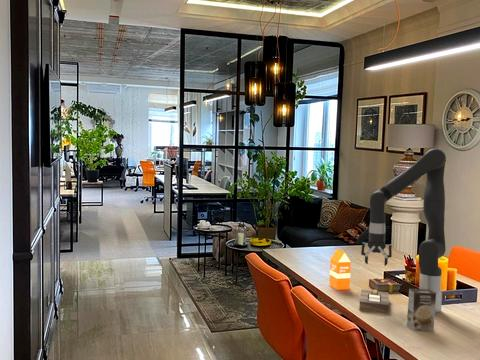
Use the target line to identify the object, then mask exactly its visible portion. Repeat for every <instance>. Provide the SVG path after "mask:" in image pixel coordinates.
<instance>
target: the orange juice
mask: <svg viewBox="0 0 480 360" xmlns="http://www.w3.org/2000/svg"><path fill="white" fill-rule="evenodd" d="M329 263H330V264H329V286H330V287H331V288H333V289H335V290H337V291H340V290H350V288H351V285H350V283H351V267H352V266H351V263H352V262H351V260H350V258H349V257H348V255H347V253H346V252H345V251H344V250H341V249H339V248H337V249H336V250H335V252H334V253H333V254H332V256H331V258H330V259H329Z"/></svg>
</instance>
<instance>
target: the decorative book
mask: <svg viewBox="0 0 480 360" xmlns="http://www.w3.org/2000/svg"><path fill="white" fill-rule="evenodd" d="M391 279H392V278H390V279H389V278H374V279H372V278H370V279H369V280H368V287H369V288H371V289H372V291H373V290H377V291H379V292H388V293H389V294H390V292H391V294H392V293H400V292H399V289H400V286H401V285H402V284H399V283H397V282H395V281H393V280H391Z"/></svg>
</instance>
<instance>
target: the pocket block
mask: <svg viewBox="0 0 480 360" xmlns="http://www.w3.org/2000/svg"><path fill="white" fill-rule="evenodd" d="M369 294H371V295H373V290H367V289H361V290H360V297H359V308H358V310H359V311H367V312H371V313H372V312H374V313H381V314H389V313H390V298H389V297H390V296H389V294H390V293H389V292H379V291H377V295H380V302H371V301H369Z"/></svg>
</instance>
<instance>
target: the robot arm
mask: <svg viewBox="0 0 480 360" xmlns="http://www.w3.org/2000/svg"><path fill="white" fill-rule="evenodd" d="M446 162H447V155H446V153H445V152H444V151H443V150H441V149H439V148H431V149H429V150H427V151H426V152H425V154H424V155H422V157H420V158H419V160H418V161H416V162H415V163H414V164H413V165H411V166H410V167H409V168H408V169H406V170H404V171H402V172H401V173H400V174H399V175H397V176H395V177H394V178H392V179H391V180H389V181H388V182H387V183H386V184H385V185H384V186H382V187H381V188H379V189H377V190H376V191H374V192H372V193H371V194H370V197H369V207H370V208H369V209H370V216H369V218H370V219H369V226H368V227H369V228H368V242H362V244H361V251H360V254H361V256H364V263H365V264H366V265H368V264H369V255H370V254H371V253H378V254H382V255H383V256H384V267H385V266H387V265H388V259H389V258H392V256H393V255H392V254H393V253H392V244H391V243H390V244H386V212H385V204H386V203H387V202H388V201H389V200H391V199H393V197H394V196H396V195H398V194H400V193H402V192H403V191H404V190H405V189H407V188H408V187H409V186H411V185H413V183H415V182H416V181H418V179H420V177H422V176H424V175H425V174H426V181H425V182H426V183H425V187H424V192H423V206H422V207H423V215H424V218H425V220H426V223H427V227H428V236H427V240H424V241H422V242H421V243H420V245H419V248H418V267H419V285H418V286H419V287H418V289H430V290H431V291H433V292H435V293H436V302H435V314H437V313H440V312H441V311H442V303H443V302H442V300H443V290H441V286H442V284H441V283H442V268H441V267H440V266H439V259H440V258H442V257H443V256H444V255H445V253H446V237H445V212H446V211H445V209H446V194H445V193H446V191H445V182H444V177H445V168H446ZM367 247H368V248H369V249H368V250H367V251H366V252H365V249H366V248H367ZM386 248H387V250H388V254H387V253H386V251H385V249H386Z"/></svg>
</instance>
